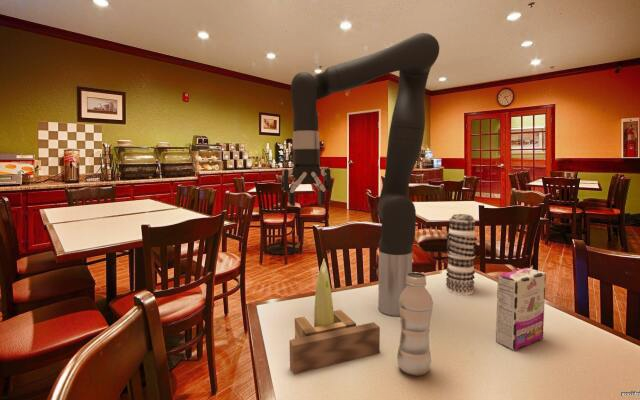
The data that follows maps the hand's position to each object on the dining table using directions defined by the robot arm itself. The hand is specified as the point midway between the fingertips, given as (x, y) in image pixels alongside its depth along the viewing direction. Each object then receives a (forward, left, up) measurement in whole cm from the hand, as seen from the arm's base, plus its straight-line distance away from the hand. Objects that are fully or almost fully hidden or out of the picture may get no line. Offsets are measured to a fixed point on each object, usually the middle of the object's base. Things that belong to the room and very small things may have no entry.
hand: (306, 205), depth 98 cm
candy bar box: (-39, +38, -30) cm, 62 cm away
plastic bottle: (-9, +38, -30) cm, 49 cm away
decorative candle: (-50, +8, -30) cm, 59 cm away
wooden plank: (+4, +28, -30) cm, 42 cm away
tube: (+4, +22, -30) cm, 38 cm away
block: (+4, +22, -30) cm, 38 cm away
